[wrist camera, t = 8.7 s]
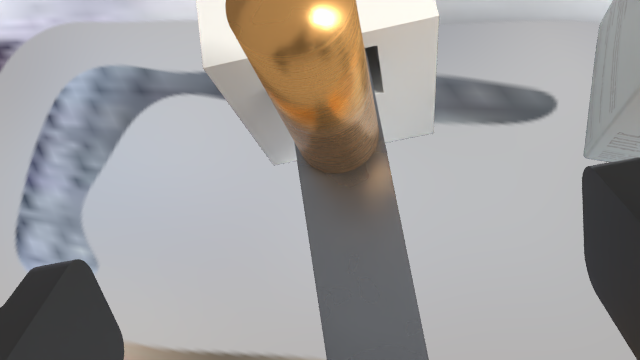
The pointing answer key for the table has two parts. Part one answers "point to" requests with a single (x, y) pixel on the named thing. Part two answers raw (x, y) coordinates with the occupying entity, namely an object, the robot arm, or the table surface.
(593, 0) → the table surface
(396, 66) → the socket block
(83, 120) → the table surface
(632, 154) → the supplement box
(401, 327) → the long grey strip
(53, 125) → the table surface
